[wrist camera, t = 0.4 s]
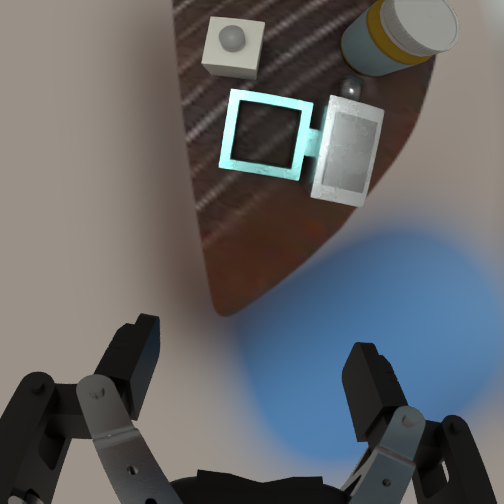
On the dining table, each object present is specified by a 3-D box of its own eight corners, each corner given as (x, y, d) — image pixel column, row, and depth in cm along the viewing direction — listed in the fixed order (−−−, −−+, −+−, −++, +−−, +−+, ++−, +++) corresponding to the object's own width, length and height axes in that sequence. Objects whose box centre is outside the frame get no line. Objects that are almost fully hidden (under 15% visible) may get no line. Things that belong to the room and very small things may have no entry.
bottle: (336, 69, 30) (387, 38, 16) (341, 18, 27) (388, -34, 14) (391, 83, 30) (463, 69, 17) (395, 34, 28) (462, 0, 14)
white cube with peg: (219, 35, 29) (207, 9, 21) (263, 41, 29) (265, 15, 21) (211, 74, 31) (197, 59, 22) (255, 80, 31) (256, 65, 23)
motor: (238, 61, 30) (234, 44, 23) (365, 88, 31) (392, 81, 24) (220, 170, 35) (211, 182, 28) (344, 192, 36) (365, 210, 29)
